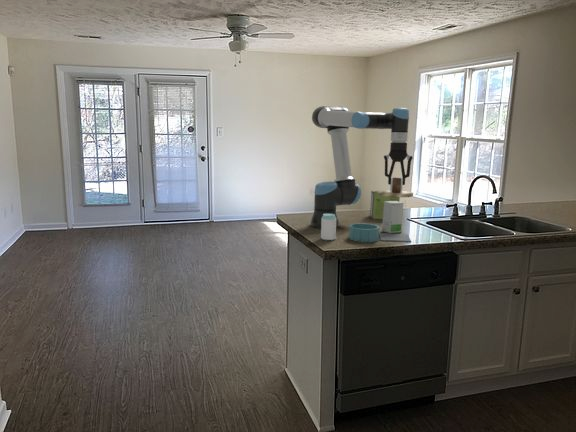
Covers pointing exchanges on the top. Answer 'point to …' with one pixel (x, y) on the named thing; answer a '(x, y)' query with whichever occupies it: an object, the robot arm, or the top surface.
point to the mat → (394, 237)
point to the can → (328, 227)
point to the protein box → (379, 204)
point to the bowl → (364, 232)
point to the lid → (396, 190)
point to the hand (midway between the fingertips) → (396, 191)
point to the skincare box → (392, 216)
